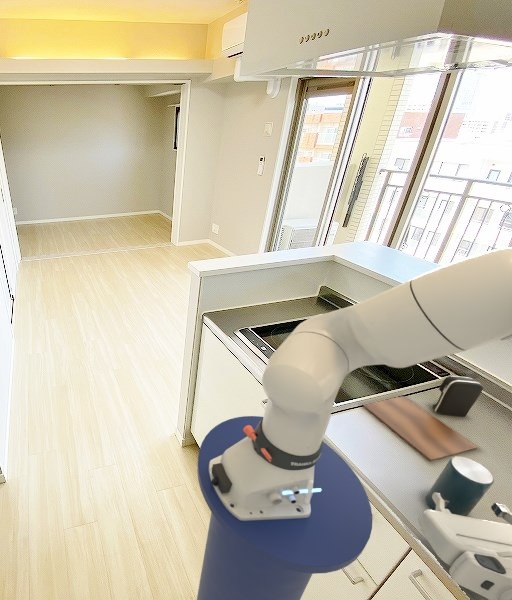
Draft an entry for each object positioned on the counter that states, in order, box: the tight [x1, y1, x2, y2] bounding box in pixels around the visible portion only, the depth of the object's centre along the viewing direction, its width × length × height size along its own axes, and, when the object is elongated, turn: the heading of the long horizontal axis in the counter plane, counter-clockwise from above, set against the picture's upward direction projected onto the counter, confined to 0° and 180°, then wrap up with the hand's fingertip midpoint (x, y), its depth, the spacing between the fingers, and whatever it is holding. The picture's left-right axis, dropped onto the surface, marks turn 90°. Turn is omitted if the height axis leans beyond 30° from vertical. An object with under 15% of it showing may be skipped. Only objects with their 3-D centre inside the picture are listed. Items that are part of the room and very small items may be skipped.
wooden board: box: [363, 395, 478, 462], centre depth 86 cm, size 14×18×1 cm
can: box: [425, 456, 495, 517], centre depth 65 cm, size 6×6×12 cm
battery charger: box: [432, 375, 484, 418], centre depth 88 cm, size 7×4×11 cm, turn 77°
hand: (466, 500), depth 63 cm, fingers open, 8 cm apart
